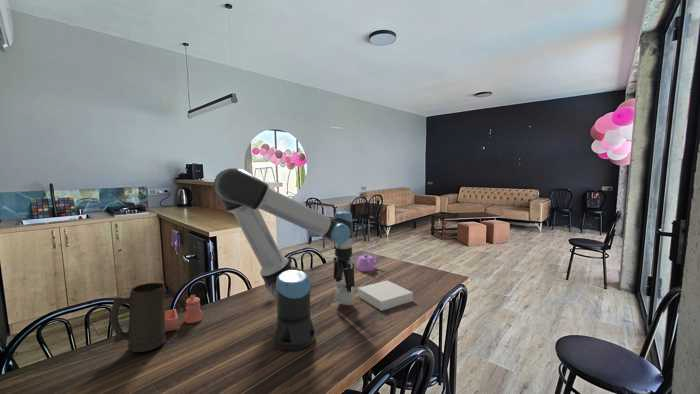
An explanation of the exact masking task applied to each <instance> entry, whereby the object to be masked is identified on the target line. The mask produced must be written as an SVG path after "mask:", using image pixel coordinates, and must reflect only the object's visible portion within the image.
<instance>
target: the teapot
mask: <svg viewBox="0 0 700 394" xmlns="http://www.w3.org/2000/svg"><path fill="white" fill-rule="evenodd" d="M380 256H381V254H377V255H376V256H375V259H374V258H373V256H371V255H369V254H367V253H364V254H363V255H359V256H358V258H357V260H356V268H357V270H358V271H359V272H363V273H368V272H374V271H375V269H376V265H377V264H378V260H379V257H380Z"/></svg>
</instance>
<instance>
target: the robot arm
mask: <svg viewBox="0 0 700 394" xmlns="http://www.w3.org/2000/svg"><path fill="white" fill-rule="evenodd" d="M213 190H214V192H215V194H216V195H217V197H219V198H220V201H221V202H222V205H223V206H224V208H225V210H226V212H228V213H230V214H231V213H232V214H233V216H234V217H235V220H236V221H237V224H238V226H239V227H240V229H241V231H242V233H243V235H244V237H245V238H246V241H247V242H248V244H249V246H250V248H251V250H252V252H253V254H254V255H255V257H256V260H257V262H258V263H259V265H260V267H261V269H260V272H259V273H260V274H259V275H260V276H261V278H262V279H263V281H264V286H265V287H266V290H267V291H268V292H269V293H270V294H271V295H272V297H273V298H274V299H275V301H276V309H277V310H276V312H277V313H276V314H277V318H276V319H277V320H276V323H275V326H274V329H273V333H272V344H273V345H274V346H275V347H276V348H277V349H279V350H282V351H299V350H303V349H305V348H307V347H309V346H311V345H312V344H313V343H314V342H315V340H316V337H317V335H316V328H315V325H314V322H313V320H312V317H311V280H310V277H309V275H308V274H307V273H306V272H302V271H303V270H302V271H298V270H293V268H292V266H293V265H292V263H291V264H290V262H289V257H285V256H283V255H282V254H281V252H280V251H281V250H280V249H279V248H278V245H277V244H276V241H275V240H274V237H273V235H272V233H271V231H270V229H269V227H268V225H267V223H266V221H265V219H264V217H263V215H262V212H260V210H261V211H264V212H266V213H269V214H270V215H273V216H275V217H277V218H280V219H282V220H284V221H287V222H288V223H290V224H293V225H295V226H297V227H300V228H302V229H304V230H306V231H307V232H308V234H309V235H308V236H310V237H312V238H318V237H322V238H324V239H326V240H329V241H330V242H333V243H334V247H335V248H334V256H335V257H333V279H335V283H336V287H338V286H340V285H342V284H343V276H344V282H345V284H346V286H345V290H347V291H348V292H351V287H353V288H354V287H355V270H354V269H355V263H351V257H352V256H353V248H352V247H353V215H352V213H351V212H350V211H344V210H343V211H336V212H335V213H334V216H332V217H328V216H326V215H325V214H322V213H321V212H320V211H319V212H318V211H317V210H315V209H312V208H310V207H309V206H306V205H304V204H302V203H300V202H298V201H296V200H295V199H292V198H290V197H288V196H286V195H285V194H282V193H280V192H278V191H276V190H273V189H272V188H270V186H269V183H266V182H264V181H263V180H261V179H259V178H258V177H256V176H254V175H253V174H251V173H250V172H248V171H247V170H245V169H242V168H239V167H236V168H235V167H233V168H232V167H231V168H230V167H229V168H227V169H223V170H222V171H220V172H218V174H217V175H216V176H215V178H214V181H213ZM336 287H335V288H336Z"/></svg>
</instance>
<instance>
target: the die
mask: <svg viewBox="0 0 700 394" xmlns="http://www.w3.org/2000/svg"><path fill="white" fill-rule="evenodd" d="M345 286H346V283H343V282H342V285H340V286H338V287H335V288H334V289H333V290H334V301H335V302H336V303H339V304H341V305H342V306H345V305H348V304H350V303H351V302H353V301H355V291H354V286H353V287H351V292H348V291H347V290H345Z"/></svg>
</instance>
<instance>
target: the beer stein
mask: <svg viewBox="0 0 700 394" xmlns="http://www.w3.org/2000/svg"><path fill="white" fill-rule="evenodd" d="M165 295H166V286H165V284H164V283H162V282H149V283H143V284H138V285H137V286H134V287H132V288H131V290H130V293H129V297H121V296H116V297H114V298H113V304H112V307H111V309H110V311H109V316H108V318H109V323H110V325H111V328H112V329H113V331H114V333H115V336H114V338H113V342H114V344H117V343H118V342H121V341H127V342H128V343H127V350H128V351H131V352H135V353H139V352H140V353H141V352H147V351H151V350H155V349H157V348H158V347H161V346H162V345H164V343H165V342H166V340H167V339H166V338H167V337H166V333H167V332H166V329H165V311H166V310H165V308H166V307H165ZM123 305H129V313H128V315H129V317H128V318H129V319H128V329H127V330H128V331H127V332H124V331H123V329H122V327H121V324H120V321H119V310H120V307H121V306H123Z"/></svg>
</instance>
